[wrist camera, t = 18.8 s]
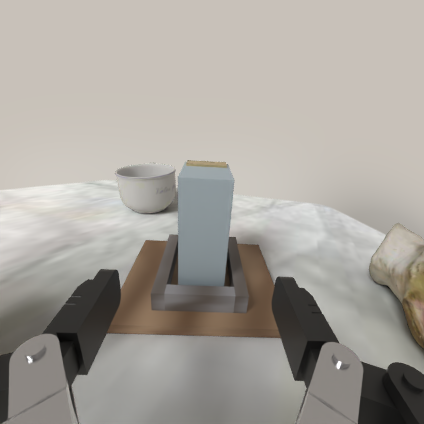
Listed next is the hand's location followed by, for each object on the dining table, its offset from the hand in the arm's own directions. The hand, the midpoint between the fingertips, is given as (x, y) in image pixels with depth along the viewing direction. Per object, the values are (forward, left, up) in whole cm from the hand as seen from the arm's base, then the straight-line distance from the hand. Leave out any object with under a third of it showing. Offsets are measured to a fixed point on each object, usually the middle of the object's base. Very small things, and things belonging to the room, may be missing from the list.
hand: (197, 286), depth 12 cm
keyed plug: (0, +12, -9) cm, 15 cm away
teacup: (-11, +35, -10) cm, 38 cm away
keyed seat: (0, +12, -10) cm, 15 cm away
